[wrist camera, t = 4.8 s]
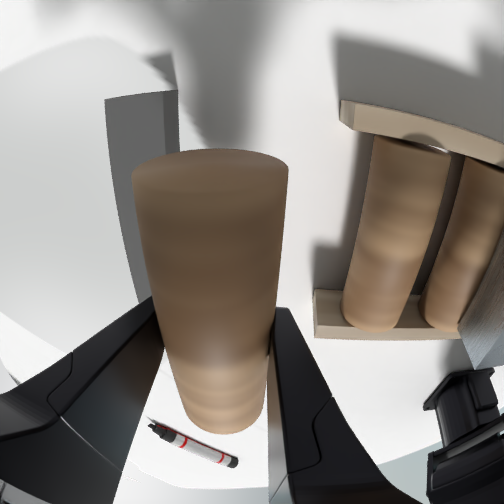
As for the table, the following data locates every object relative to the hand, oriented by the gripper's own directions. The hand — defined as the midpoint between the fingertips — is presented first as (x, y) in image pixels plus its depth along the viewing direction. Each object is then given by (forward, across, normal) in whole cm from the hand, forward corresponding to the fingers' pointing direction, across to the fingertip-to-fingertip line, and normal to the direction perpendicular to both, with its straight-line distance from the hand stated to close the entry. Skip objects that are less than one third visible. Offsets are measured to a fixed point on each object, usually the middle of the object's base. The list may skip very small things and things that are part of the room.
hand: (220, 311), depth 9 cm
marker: (+8, +7, +35) cm, 37 cm away
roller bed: (+8, -14, 0) cm, 16 cm away
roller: (0, 0, 0) cm, 0 cm away
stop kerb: (+7, +5, 0) cm, 9 cm away
